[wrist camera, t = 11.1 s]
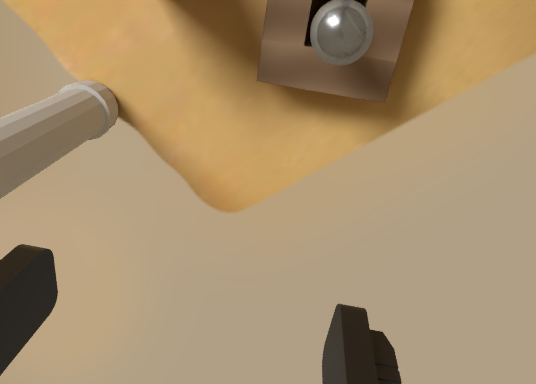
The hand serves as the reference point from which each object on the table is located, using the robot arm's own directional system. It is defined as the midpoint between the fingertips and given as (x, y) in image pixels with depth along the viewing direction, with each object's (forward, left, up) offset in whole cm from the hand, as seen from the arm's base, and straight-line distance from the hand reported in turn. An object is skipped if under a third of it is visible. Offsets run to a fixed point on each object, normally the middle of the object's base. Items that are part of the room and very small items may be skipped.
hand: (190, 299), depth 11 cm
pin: (-6, +4, -30) cm, 31 cm away
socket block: (-6, +4, -30) cm, 31 cm away
